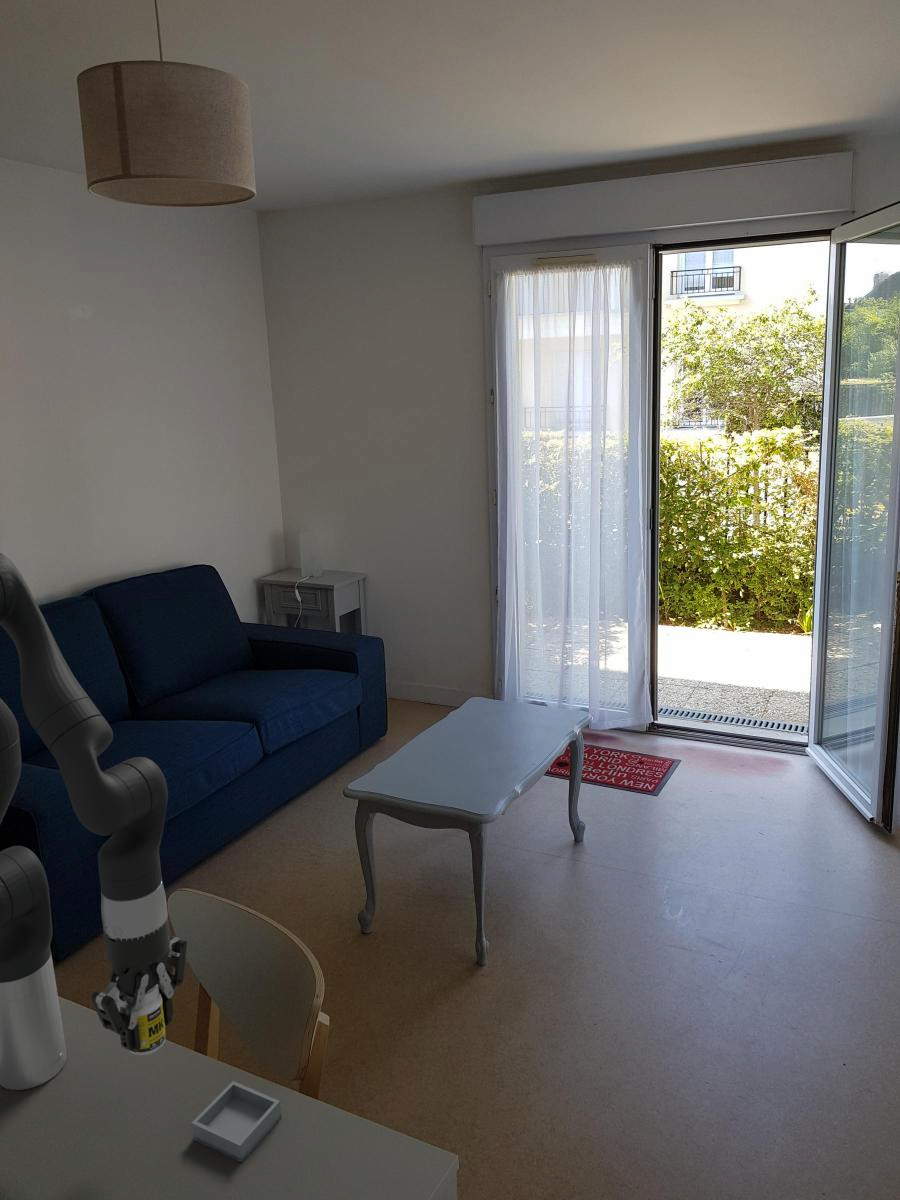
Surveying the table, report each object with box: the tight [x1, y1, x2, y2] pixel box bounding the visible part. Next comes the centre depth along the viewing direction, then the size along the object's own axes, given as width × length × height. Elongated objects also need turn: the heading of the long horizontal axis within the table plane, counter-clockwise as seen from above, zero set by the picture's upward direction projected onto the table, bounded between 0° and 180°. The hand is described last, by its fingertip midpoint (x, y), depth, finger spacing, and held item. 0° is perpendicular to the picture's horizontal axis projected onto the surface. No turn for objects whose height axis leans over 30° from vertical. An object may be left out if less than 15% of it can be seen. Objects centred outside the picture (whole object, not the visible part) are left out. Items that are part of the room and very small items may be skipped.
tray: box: [190, 1080, 282, 1163], centre depth 121 cm, size 8×8×3 cm
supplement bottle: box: [126, 984, 167, 1056], centre depth 117 cm, size 5×5×8 cm
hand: (148, 1034), depth 118 cm, fingers closed on supplement bottle, 4 cm apart
